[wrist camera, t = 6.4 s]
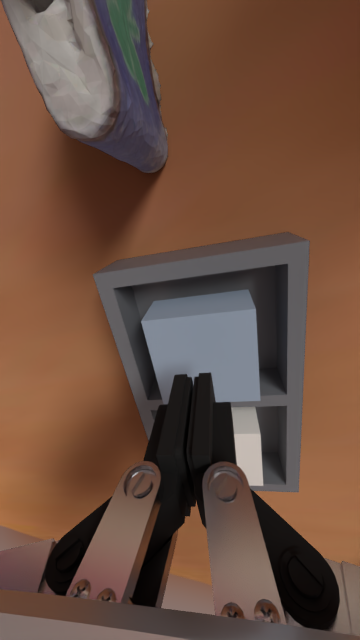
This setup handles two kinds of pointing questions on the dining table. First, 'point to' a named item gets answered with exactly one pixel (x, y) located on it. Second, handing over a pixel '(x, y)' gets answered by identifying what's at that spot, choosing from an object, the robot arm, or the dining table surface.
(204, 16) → the dining table surface
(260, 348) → the key panel
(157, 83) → the dark blue boxy piece
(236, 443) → the white key
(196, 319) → the blue key
